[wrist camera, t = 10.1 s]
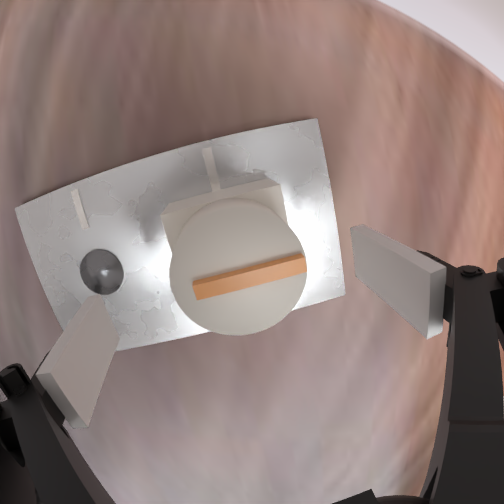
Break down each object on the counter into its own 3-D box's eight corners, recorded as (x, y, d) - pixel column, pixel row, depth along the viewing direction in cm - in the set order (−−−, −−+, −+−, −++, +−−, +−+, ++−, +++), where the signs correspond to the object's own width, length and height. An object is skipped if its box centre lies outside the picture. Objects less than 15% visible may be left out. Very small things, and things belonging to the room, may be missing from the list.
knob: (196, 293, 23) (192, 354, 16) (168, 203, 21) (148, 231, 14) (287, 269, 24) (318, 321, 17) (268, 177, 21) (297, 193, 14)
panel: (81, 350, 25) (66, 378, 21) (21, 205, 21) (-7, 216, 17) (340, 288, 26) (360, 311, 22) (312, 119, 22) (332, 114, 18)
